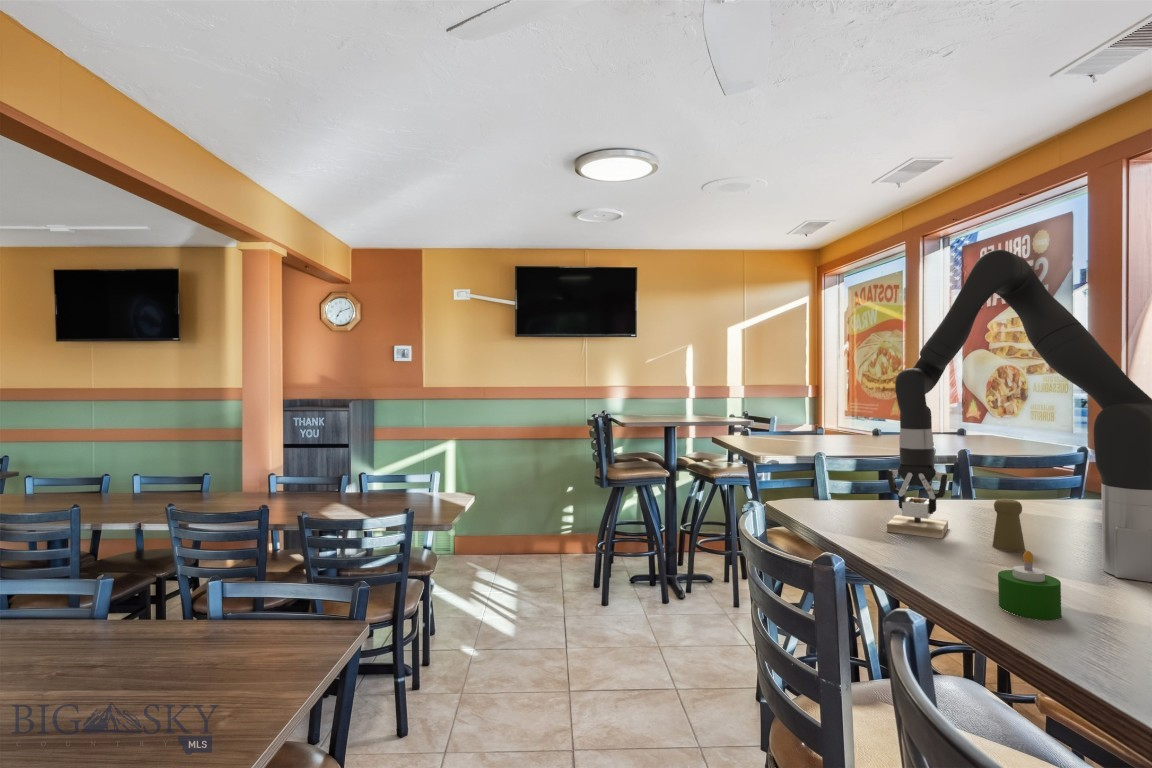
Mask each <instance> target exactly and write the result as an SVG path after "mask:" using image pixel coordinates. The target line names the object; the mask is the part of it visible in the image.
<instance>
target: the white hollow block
mask: <svg viewBox="0 0 1152 768" xmlns="http://www.w3.org/2000/svg"><path fill="white" fill-rule="evenodd" d="M914 498H915V497H913V496H912V497H911V496H910V497H909V496H908V497H907V496H906V499H905V500H904V501H903V502H902V509H901V511H902V512H901V513H902V516H906V517H916V518H925V519H928V518H930V517H931V516H932V514H930V513H929V499H930V498H924V497H922V498H921V497H919V498H920V499H921V501H920V503H914Z"/></svg>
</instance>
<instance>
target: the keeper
mask: <svg viewBox="0 0 1152 768" xmlns="http://www.w3.org/2000/svg"><path fill="white" fill-rule="evenodd" d="M913 498H914V503H920V501H921V499H920V498H921V497H913ZM948 528H949V520H947V519H946V520H945V519H938V518H930V517H929V518H928V519H925V518H916V517H906V516H902V515H900V514H895V515H894V516H893V517H892V518H891V519H890V520H889V521H888V522H887V523H886V532H889V533H896V534H904V535H911V536H912V535H913V536H919V537H920V536H921V537H929V538H936V539H943V537H944V536H945V534H946V532H947V531H948Z"/></svg>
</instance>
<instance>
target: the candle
mask: <svg viewBox="0 0 1152 768" xmlns="http://www.w3.org/2000/svg"><path fill="white" fill-rule="evenodd" d="M1022 561H1023V565H1016V566H1015V565H1014V566H1012V569H1004V570H1001V571H999V572H998V573H997V584H998V585H997V586H998V587H997V588H998V607H999V606H1000V607H1001V608H1002V609H1004V610H1006V611H1008V612H1010V613H1013V614H1015V615H1014V616H1016V615H1018V616H1017V617H1020V616H1021V617H1020V618H1025V619H1029V618H1030V619H1029V620H1035V619H1037V621H1057V620H1056V619H1058V620H1060V619H1061V618H1062V589H1061V588H1062V585H1061V583H1062V582H1061V581H1060V580H1059V579H1058V578H1056V577H1054V576H1051V575H1048V574H1045V571H1044V570H1043V569H1040V568H1038V567H1034V566H1033V562H1034V555H1033V553H1032V552H1031V551H1030V550H1025V551H1024V553H1023V555H1022ZM1000 607H999V608H1000ZM1001 608H1000V609H1001ZM1002 609H1001V610H1002ZM1004 610H1003V611H1004ZM1006 611H1005V612H1006ZM1008 612H1007V613H1008ZM1010 613H1009V614H1010ZM1013 614H1012V615H1013ZM1059 618H1060V619H1059Z"/></svg>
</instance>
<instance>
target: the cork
mask: <svg viewBox="0 0 1152 768" xmlns="http://www.w3.org/2000/svg"><path fill="white" fill-rule="evenodd" d="M993 509H994V512H995V513H996V519H995V525H994V533H993V538H992V539H993V540H992V547H993V548H994V549H997V550H1001V551H1005V552H1013V553H1014V552H1016V553H1017V552H1018V553H1019V552H1020V553H1021V552H1025V551H1026V546H1025V542H1024V541H1025V540H1024V534H1023V530H1022V529H1023V528H1022V523H1021V518H1020V515H1021V514H1022V512H1023V506H1022V504H1021V502H1020V501H1018V500H1015V499H1010V498H999V499H996V500H995V501H994V503H993Z"/></svg>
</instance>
